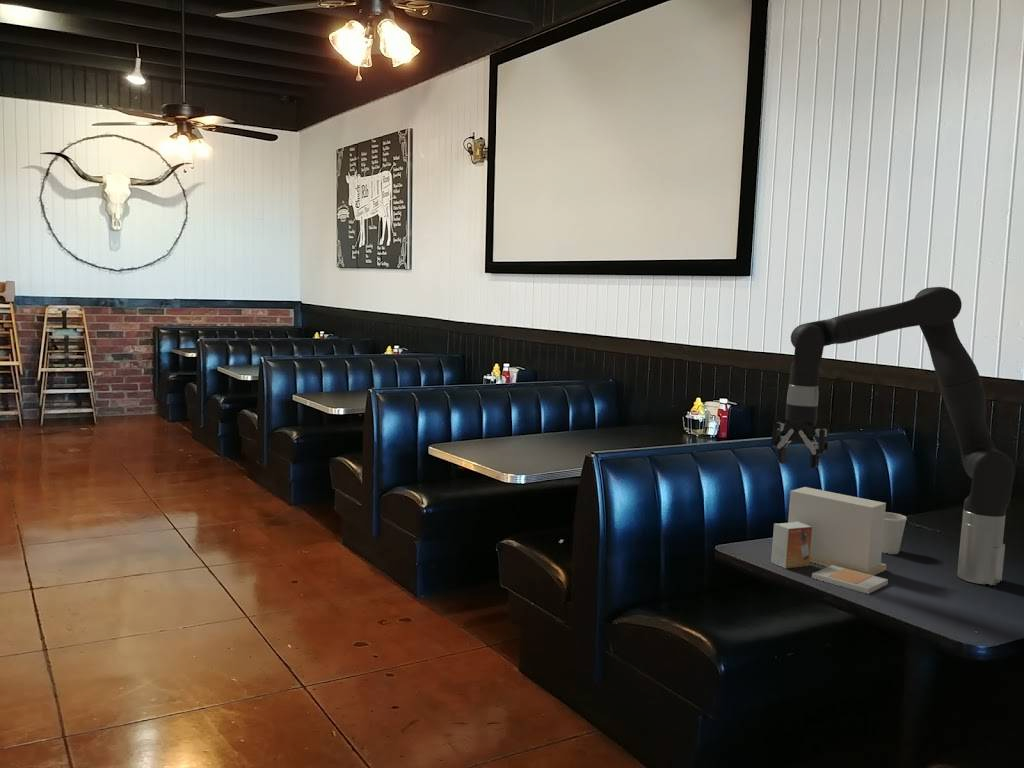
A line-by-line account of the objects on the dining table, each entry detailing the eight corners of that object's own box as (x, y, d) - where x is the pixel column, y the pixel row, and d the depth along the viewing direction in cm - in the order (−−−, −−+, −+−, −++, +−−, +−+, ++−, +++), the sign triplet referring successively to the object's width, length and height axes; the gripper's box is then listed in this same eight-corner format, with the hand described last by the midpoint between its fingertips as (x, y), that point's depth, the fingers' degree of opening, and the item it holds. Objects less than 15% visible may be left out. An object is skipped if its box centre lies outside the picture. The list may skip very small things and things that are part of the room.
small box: (785, 569, 218) (788, 528, 216) (770, 562, 223) (773, 523, 222) (809, 566, 221) (812, 526, 220) (794, 560, 226) (797, 520, 225)
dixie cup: (897, 547, 241) (900, 512, 240) (908, 556, 233) (911, 520, 232) (867, 545, 242) (870, 511, 241) (876, 554, 234) (879, 518, 233)
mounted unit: (885, 570, 220) (891, 503, 218) (868, 578, 213) (874, 509, 211) (798, 547, 237) (803, 485, 235) (780, 554, 230) (785, 490, 228)
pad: (887, 584, 209) (888, 579, 209) (868, 593, 201) (868, 588, 201) (832, 569, 219) (832, 564, 219) (811, 578, 211) (812, 573, 211)
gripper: (836, 405, 215) (830, 469, 217) (783, 398, 225) (779, 459, 227) (822, 407, 210) (816, 472, 211) (769, 400, 220) (764, 462, 222)
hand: (797, 465), depth 219 cm, fingers open, 8 cm apart
